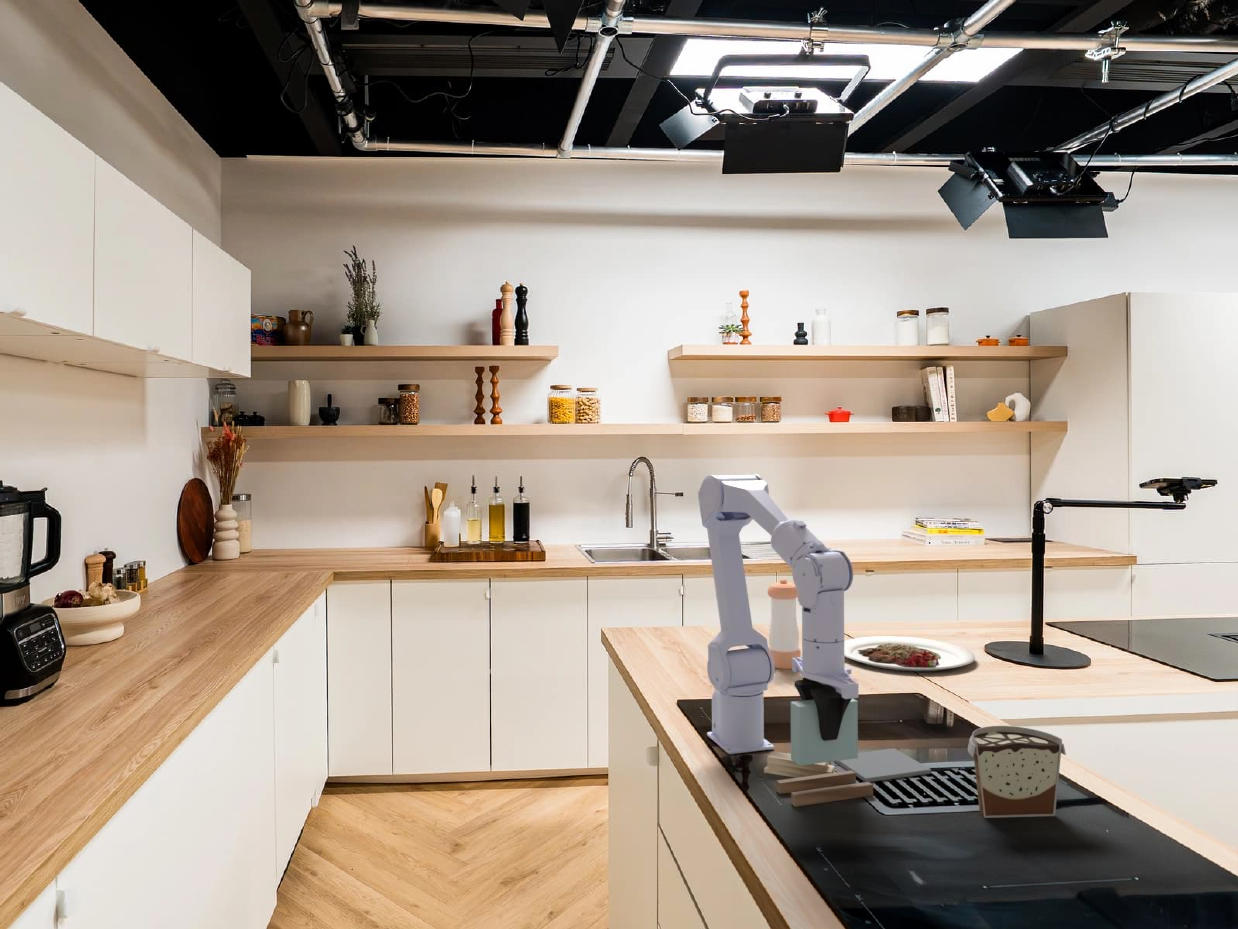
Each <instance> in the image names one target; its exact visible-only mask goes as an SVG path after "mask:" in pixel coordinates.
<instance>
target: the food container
mask: <svg viewBox="0 0 1238 929" xmlns="http://www.w3.org/2000/svg"><path fill="white" fill-rule="evenodd" d="M967 752H968V754H969V755H970V757H972V758H973V761H974V762H973V763H974V771H975V780H976V781H975V782H976V790H977V800H978V806H979V807H978V809H979V812H980V815H981V816H982V817H983V819H987V818H988V819H989V818H990V819H991V818H992V819H993V818H994V819H995V818H1027V817H1028V818H1030V817H1034V818H1035V817H1055V816H1056V808H1057V797H1058V789H1059V777H1060V768H1061V767H1060V766H1061V758H1062V756H1061V755H1062V754H1063V755H1064V756H1066V755H1067V754H1066V748H1065V744H1064V743H1063V740H1062V738H1060V737H1059V736H1056V735H1054V734H1051V733H1049V732H1045V731H1041V730H1038V729H1034V728H1030V727H1029V728H1028V727H1023V726H1016V725H1015V726H1014V725H989V726H988V725H987V726H983V727H979V728H977V729H975V730H974V731H973V732H972V734H971V736H970V738H969V740H968V745H967Z"/></svg>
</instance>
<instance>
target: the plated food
mask: <svg viewBox="0 0 1238 929" xmlns="http://www.w3.org/2000/svg"><path fill="white" fill-rule="evenodd" d="M844 658H847V659H850V660H853V661H856V662H859V663H861V664H865V665H868V666H872V667H876V668H883V669H888V670H896V671H905V672H906V671H908V672H934V671H935V672H936V671H944V670H948V669H954V668H959V667H963V666H967V665H970V664H972V663H973V662H975V659H976V655H975V653H974V652H972V651H971V650H970V649H968V648H966V647H963V646H960V645H957V644H954V643H950V642H946V641H941V640H935V639H931V638H929V639H928V638H923V637H914V636H912V637H911V636H895V635H890V636H889V635H881V636H879V635H877V636H875V635H873V636H864V637H862V636H861V637H854V638H850V639H847V640H844Z"/></svg>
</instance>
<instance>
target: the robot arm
mask: <svg viewBox="0 0 1238 929" xmlns="http://www.w3.org/2000/svg"><path fill="white" fill-rule="evenodd" d="M769 493H770V492H769V484H768V482H766V481H765V480H764V479H763V477H761V475H759V474H757V473H752V474H737V475H735V474H733V475H730V474H729V475H715V474H708V475H706V476H705V477H704V479H703V480H702V482H701V484H700V488H699V490H698V493H697V494H698V504H699V511H700V519H701V525H702V527H704V528H705V529H706V531H707V538H708V546H709V552H710V559H711V566H712V567H711V568H712V574H713V581H714V589H715V596H716V604H717V612H718V618H719V625H720V632H719V633H717V635H716V636H715V637H714V638H712V640H711V641H710V642H709V643H708V644H707V654H708V656H707V666H706V671H707V676H708V679H709V682H710V684H711V686H713V688H714V691H713V693H712V696H711V731H708V732H706V736H707V737H708V738H709V739H711V740H712V741H713V742H715V743H716V744H717V745H718V746H719V747H720V749H722V750H723V751H724V752H726V753H727V754H728V755H735V754H741V753H742V754H743V753H751V752H759V751H766V750H768V751H769V750H774V749H775V746H774V744H772V743H771V742H770V741H768V740H767V739H765V731H764V730H765V725H764V724H765V723H764V722H765V721H764V718H765V717H764V716H765V713H764V710H765V709H764V708H765V707H764V706H765V705H764V691H768V685H769V684H770V683H771V682H772V680H773V679H774V675H775V670H776V668H775V665H774V660H773V657H772V655H771V653H770V651H769V643H768V639H767V637H765V635H763V634H761V632H759V631H757V630H756V629H755V628H754V627H753V623H752V622H753V621H752V616H751V608H750V601H749V600H750V599H749V594H748V587H747V579H746V573H745V567H744V566H745V564H744V558H743V552H742V547H741V546H742V544H741V538H740V533H741V531H742V529H743V528H744V527H746V526H747V525H749V524H750V523H751V522H752V521H755V522H756V523H757V524H758V525H759V526H760V527H761V528H762V529H763V530H764V531H766V533H768V534H769V535H770V545H771V547H772V549H773V551H774V552H776V554H777V555H778V556H779V557H780V558H781V559H782V561H783V562H785V564H786V565H787V566H788V567H789V568H790V570H792V572H791V573H792V581H793V584H794V585H795V586H796V588H797V592H798V597H797V601H798V603H799V606H801V637H802V638H801V644H802V645H801V646H802V647H801V652H802V654H801V657H798V658H792V668H791V670H792V672H794V673H800V675H801V677H802V679H798V680H795V681H794V687H795V688H796V691H797V693H798V694H799V697H800V699H801V701H804V700H814V701H815V704H816V708H817V712H818V717H819V728H820V734H821V738H822V740H824V741H828V740H836V739H837V738H838V734H839V730H840V726H841V722H842V719H843V716H844V713H845V711H846V708H847V706H848V705H849V703H850V701H851V700H852V698H853V699H857V698H859V683H858V682H857V681H854V679H853V678H852V677H851V676H850V675H851V674H852V668H850V667H848V666H846V665H845V656H844V641H845V592H846V591H847V590H849V589H850V587H851V586H852V584H853V581H854V568H853V565H852V562H851V559H850V558H849V557H848V556H847V554H846V552H845V551H843V550H841V549H832V548H831V547H827V546H825V544H824V542H822V541H820V540H819V538H817V537H816V536H815V535H814V534H813V533H812V532H811V531H810V529H808V527H807V524H806V523H805V522H804V520H797V519H790V520H789V519H788V517H787V516H786V515H785V514H784V512H783V511H782V510H781V509H780V507H779V506H778V505H777V503H776V502H775V501H774V499H772V497H771V496H770V495H769ZM743 646H745V647H746V648H745V647H744V648H738V649H731V648H734V647H735V648H736V647H743ZM729 649H730V650H729Z"/></svg>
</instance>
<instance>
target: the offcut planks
mask: <svg viewBox="0 0 1238 929" xmlns="http://www.w3.org/2000/svg"><path fill="white" fill-rule="evenodd" d="M766 758H767V759H766V760H767V764H766V765H765V767H764V768H763V773H764V774H773V775H778V776H784V777H791V778H799V777H806V776H814V775H821V774H829V773H836V772H837V771H836V770H835V768H836V766H835V765H831V764H829V762H824V763H816V764H808V765H801V766H800V765H798V764H797V763H796V762H794V761H793V760H792V759H791V753H787V752H780V751H773V750H772V751H770V753H769V754H768V755H767V757H766Z"/></svg>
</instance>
